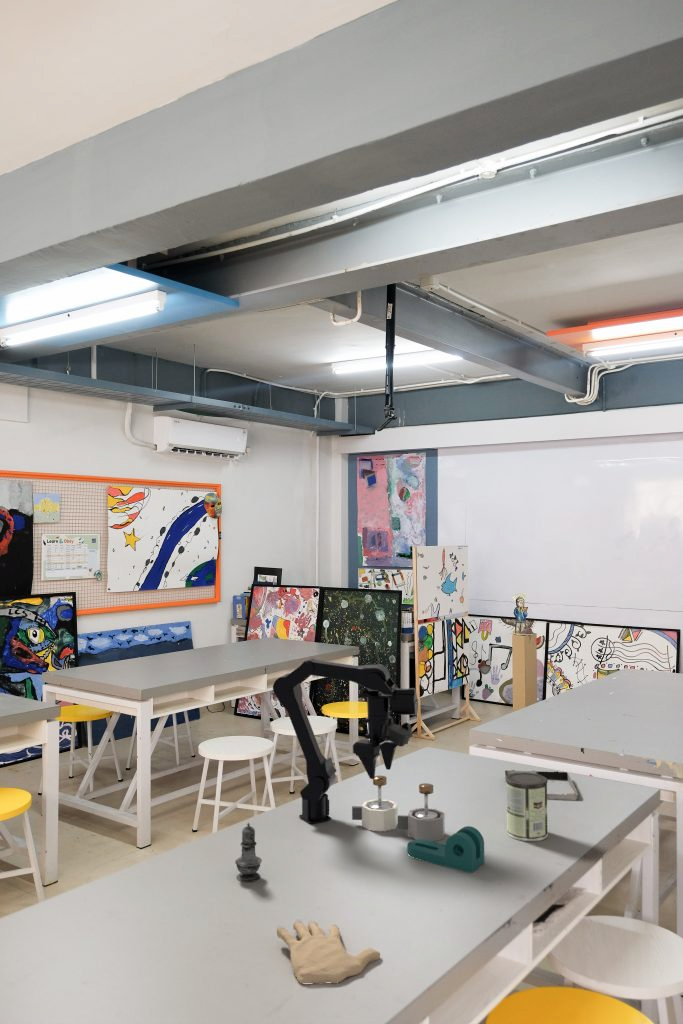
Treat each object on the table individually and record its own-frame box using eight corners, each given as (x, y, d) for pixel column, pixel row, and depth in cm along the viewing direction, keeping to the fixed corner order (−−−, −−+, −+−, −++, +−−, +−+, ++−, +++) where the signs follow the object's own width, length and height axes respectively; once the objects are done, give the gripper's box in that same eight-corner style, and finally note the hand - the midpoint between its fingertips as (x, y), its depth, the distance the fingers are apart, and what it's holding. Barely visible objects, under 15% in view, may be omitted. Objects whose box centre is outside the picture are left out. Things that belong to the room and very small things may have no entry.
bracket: (484, 863, 191) (484, 829, 191) (472, 873, 186) (471, 838, 186) (415, 847, 201) (415, 814, 201) (402, 856, 196) (402, 822, 196)
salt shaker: (240, 884, 180) (240, 829, 180) (231, 874, 185) (231, 820, 185) (265, 879, 182) (265, 824, 182) (255, 869, 187) (255, 816, 188)
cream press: (369, 835, 209) (369, 814, 209) (350, 824, 216) (350, 804, 216) (403, 826, 214) (403, 806, 214) (383, 816, 222) (383, 797, 222)
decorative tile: (578, 805, 235) (571, 781, 254) (578, 794, 235) (571, 771, 254) (506, 801, 238) (504, 778, 258) (506, 791, 238) (504, 768, 258)
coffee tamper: (424, 821, 205) (424, 790, 205) (410, 815, 210) (410, 784, 210) (441, 817, 208) (441, 786, 208) (428, 811, 212) (428, 780, 213)
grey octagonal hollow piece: (417, 845, 202) (417, 824, 202) (395, 834, 209) (395, 813, 209) (451, 837, 207) (450, 816, 207) (429, 826, 215) (428, 806, 215)
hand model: (274, 973, 140) (277, 904, 159) (273, 998, 140) (276, 926, 160) (385, 975, 141) (375, 906, 160) (383, 1000, 141) (373, 928, 161)
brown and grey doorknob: (376, 812, 212) (376, 782, 212) (364, 806, 217) (364, 776, 217) (394, 808, 215) (394, 778, 215) (382, 802, 220) (382, 773, 220)
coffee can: (519, 823, 216) (519, 769, 217) (555, 833, 209) (555, 777, 210) (498, 834, 209) (498, 778, 209) (534, 845, 202) (534, 787, 202)
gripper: (390, 724, 204) (392, 787, 204) (421, 709, 221) (423, 768, 220) (350, 720, 210) (352, 782, 210) (384, 706, 226) (386, 763, 226)
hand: (380, 774), depth 216 cm, fingers open, 9 cm apart
